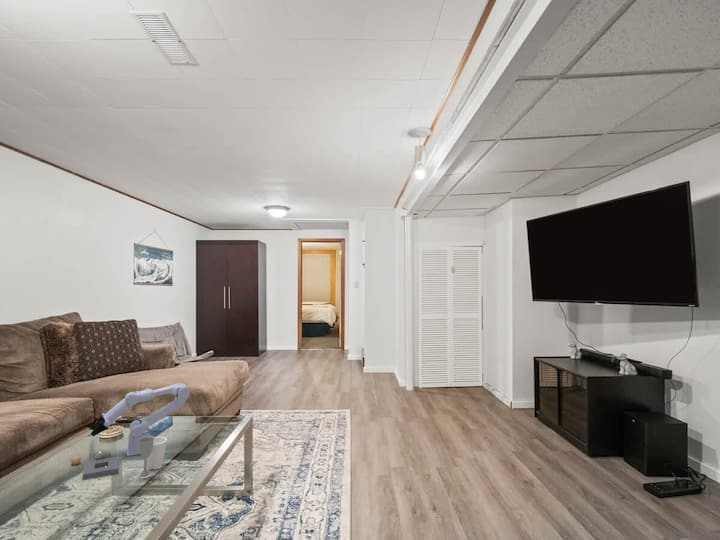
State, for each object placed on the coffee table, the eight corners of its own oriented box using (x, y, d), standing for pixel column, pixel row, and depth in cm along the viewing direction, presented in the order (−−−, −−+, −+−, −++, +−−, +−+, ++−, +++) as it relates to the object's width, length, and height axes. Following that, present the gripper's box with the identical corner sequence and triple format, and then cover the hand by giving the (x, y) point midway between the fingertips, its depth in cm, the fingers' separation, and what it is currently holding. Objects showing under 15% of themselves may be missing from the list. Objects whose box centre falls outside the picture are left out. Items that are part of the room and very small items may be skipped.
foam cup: (156, 472, 197) (158, 445, 197) (140, 470, 199) (141, 443, 199) (169, 463, 207) (170, 438, 207) (153, 461, 208) (154, 435, 209)
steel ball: (104, 456, 212) (105, 448, 212) (104, 459, 208) (104, 451, 208) (95, 457, 209) (96, 449, 210) (95, 460, 206) (95, 453, 206)
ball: (81, 461, 205) (81, 453, 205) (80, 465, 201) (80, 456, 201) (71, 463, 203) (71, 455, 203) (70, 466, 199) (71, 458, 199)
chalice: (156, 474, 195) (158, 437, 196) (144, 481, 189) (146, 442, 189) (144, 471, 198) (146, 434, 198) (132, 477, 191) (134, 439, 192)
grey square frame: (118, 461, 207) (118, 456, 207) (117, 473, 195) (118, 468, 195) (84, 466, 200) (85, 461, 200) (82, 479, 188) (82, 474, 188)
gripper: (110, 402, 218) (87, 422, 212) (110, 410, 205) (85, 432, 200) (120, 411, 220) (97, 431, 214) (120, 419, 207) (96, 441, 202)
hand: (92, 432), depth 207 cm, fingers open, 7 cm apart
